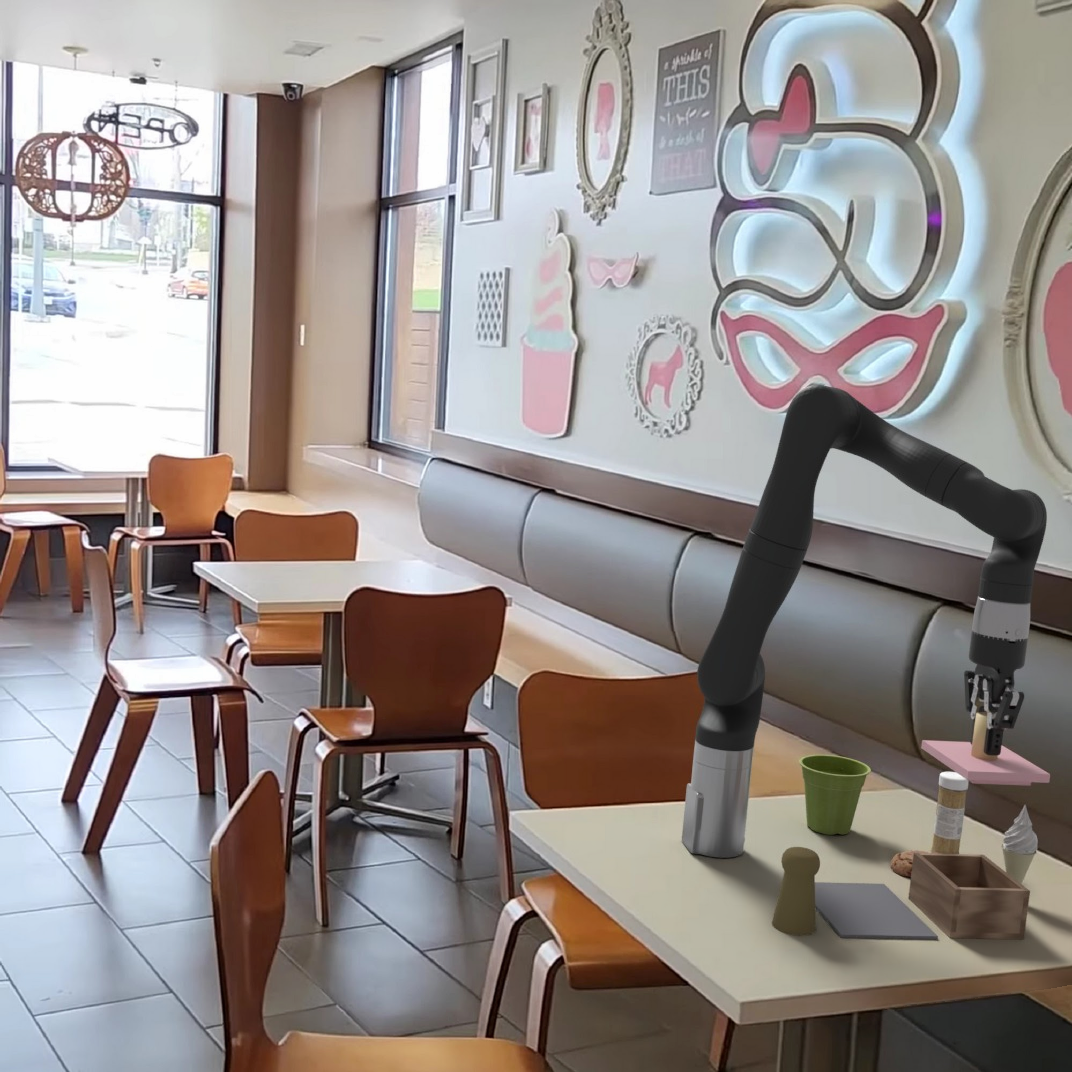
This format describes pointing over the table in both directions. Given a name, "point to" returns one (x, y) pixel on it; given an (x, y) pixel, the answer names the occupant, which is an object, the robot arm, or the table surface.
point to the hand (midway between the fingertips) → (985, 749)
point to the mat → (868, 912)
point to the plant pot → (832, 791)
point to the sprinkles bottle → (949, 813)
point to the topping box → (969, 896)
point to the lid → (985, 760)
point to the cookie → (904, 862)
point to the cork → (797, 892)
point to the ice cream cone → (1019, 846)
